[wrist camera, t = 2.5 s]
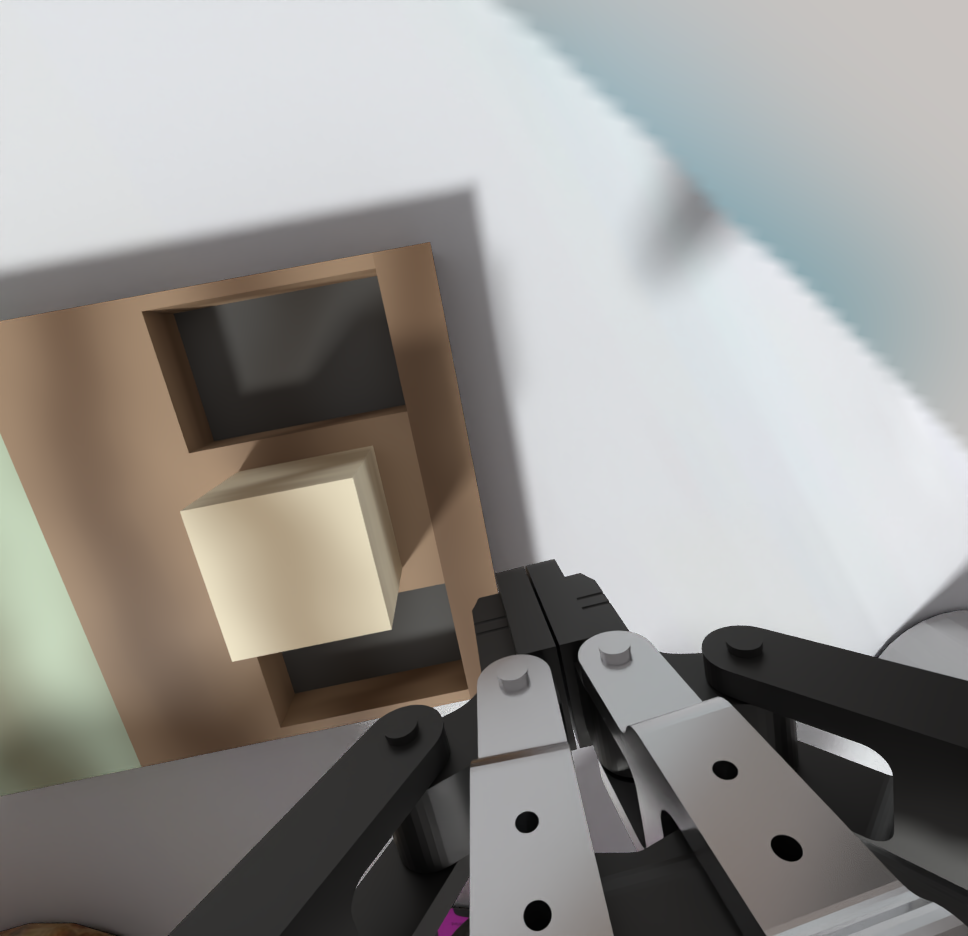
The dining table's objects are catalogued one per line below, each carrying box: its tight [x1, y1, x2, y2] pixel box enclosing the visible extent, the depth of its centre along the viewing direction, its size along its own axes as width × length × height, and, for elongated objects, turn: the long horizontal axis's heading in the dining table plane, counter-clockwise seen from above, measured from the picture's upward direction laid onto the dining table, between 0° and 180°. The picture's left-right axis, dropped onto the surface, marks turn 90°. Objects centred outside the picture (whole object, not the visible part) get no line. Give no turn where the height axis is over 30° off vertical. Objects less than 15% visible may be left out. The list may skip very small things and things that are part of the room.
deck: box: [0, 242, 498, 796], centre depth 20 cm, size 24×18×5 cm
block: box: [180, 446, 402, 662], centre depth 18 cm, size 5×5×4 cm
